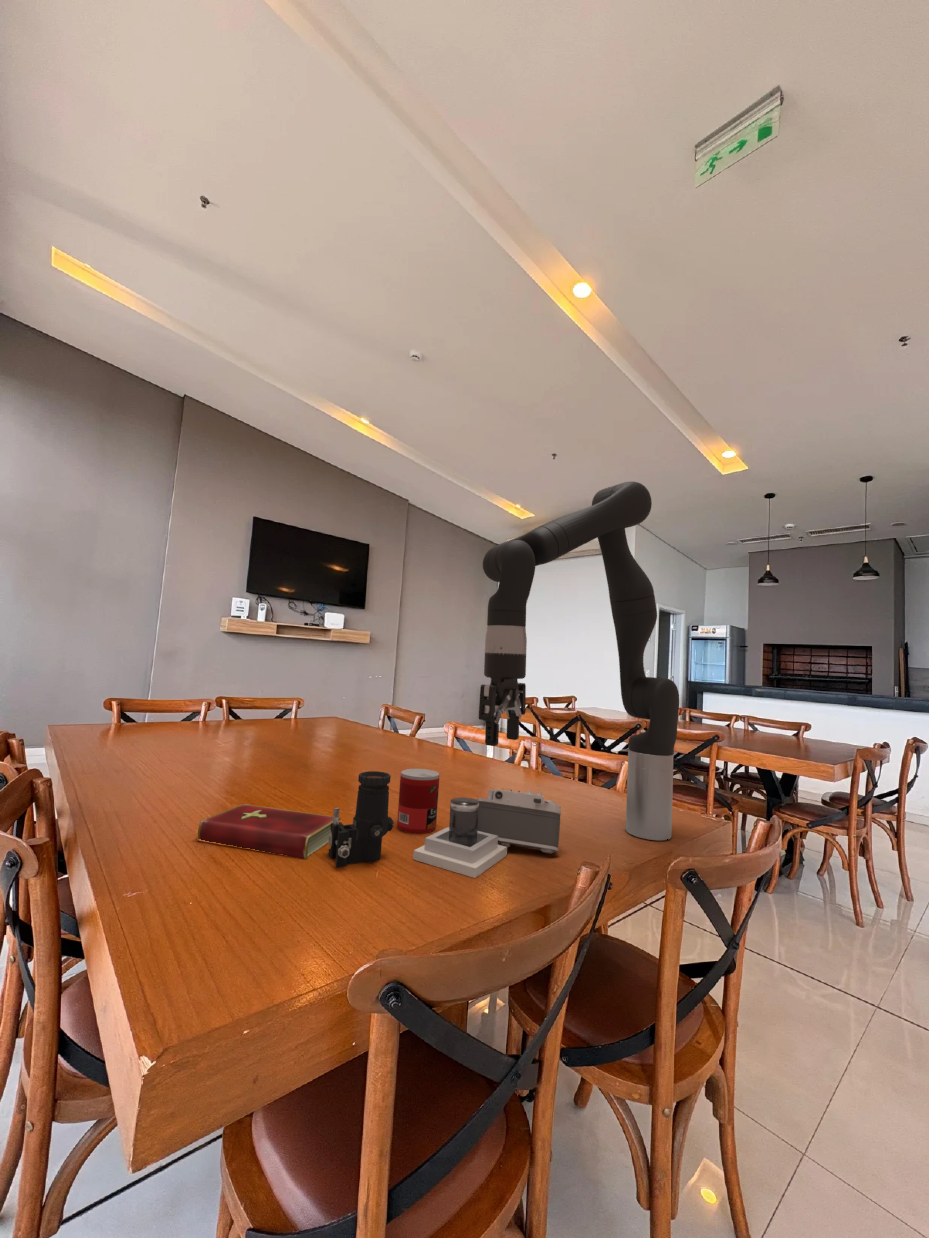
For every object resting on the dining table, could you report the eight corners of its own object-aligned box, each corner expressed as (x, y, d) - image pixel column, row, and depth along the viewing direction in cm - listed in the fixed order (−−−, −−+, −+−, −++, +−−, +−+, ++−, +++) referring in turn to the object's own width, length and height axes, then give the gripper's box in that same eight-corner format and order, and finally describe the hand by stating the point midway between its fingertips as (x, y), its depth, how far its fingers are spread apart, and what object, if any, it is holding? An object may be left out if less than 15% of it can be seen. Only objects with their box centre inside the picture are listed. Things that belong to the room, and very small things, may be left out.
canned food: (434, 835, 99) (438, 778, 100) (394, 832, 99) (398, 775, 100) (437, 823, 107) (440, 769, 108) (399, 820, 107) (403, 767, 108)
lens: (456, 841, 93) (458, 796, 93) (481, 846, 90) (483, 800, 91) (442, 849, 88) (445, 801, 89) (468, 855, 86) (471, 806, 87)
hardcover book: (305, 862, 84) (307, 836, 84) (196, 844, 89) (199, 819, 89) (338, 838, 96) (340, 815, 96) (240, 824, 100) (243, 802, 101)
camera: (559, 853, 90) (563, 793, 95) (470, 838, 93) (478, 780, 98) (555, 858, 98) (559, 802, 103) (473, 844, 101) (481, 790, 106)
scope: (333, 770, 88) (388, 768, 93) (326, 853, 87) (382, 846, 92) (345, 782, 81) (404, 778, 86) (338, 872, 80) (398, 863, 85)
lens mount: (449, 840, 97) (450, 821, 97) (506, 855, 91) (507, 835, 91) (413, 859, 87) (414, 838, 87) (475, 878, 81) (476, 855, 81)
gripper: (507, 651, 84) (504, 750, 83) (539, 653, 96) (537, 739, 95) (468, 650, 88) (464, 745, 87) (504, 651, 100) (501, 735, 99)
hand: (502, 742), depth 91 cm, fingers open, 8 cm apart
